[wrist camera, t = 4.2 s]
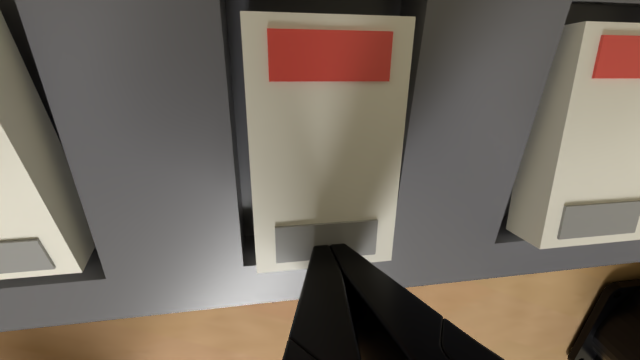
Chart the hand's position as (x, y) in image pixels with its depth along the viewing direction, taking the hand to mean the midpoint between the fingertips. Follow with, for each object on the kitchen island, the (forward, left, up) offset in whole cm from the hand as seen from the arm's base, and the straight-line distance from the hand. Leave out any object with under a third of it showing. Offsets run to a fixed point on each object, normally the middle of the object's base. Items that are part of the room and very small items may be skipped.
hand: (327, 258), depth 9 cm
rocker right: (+3, -8, -1) cm, 8 cm away
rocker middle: (+3, 0, -1) cm, 3 cm away
